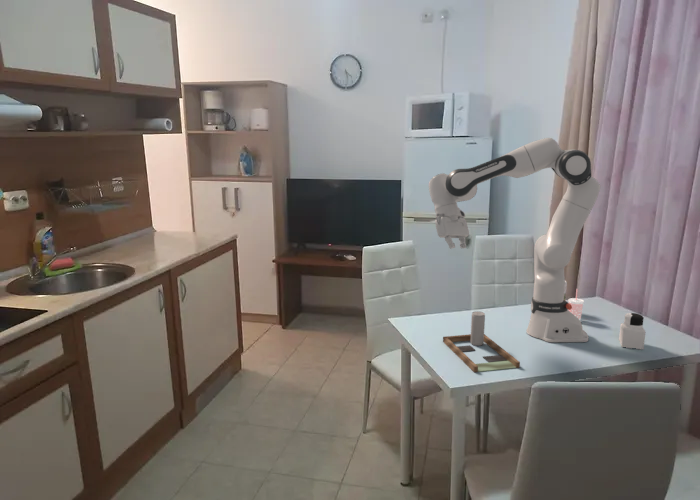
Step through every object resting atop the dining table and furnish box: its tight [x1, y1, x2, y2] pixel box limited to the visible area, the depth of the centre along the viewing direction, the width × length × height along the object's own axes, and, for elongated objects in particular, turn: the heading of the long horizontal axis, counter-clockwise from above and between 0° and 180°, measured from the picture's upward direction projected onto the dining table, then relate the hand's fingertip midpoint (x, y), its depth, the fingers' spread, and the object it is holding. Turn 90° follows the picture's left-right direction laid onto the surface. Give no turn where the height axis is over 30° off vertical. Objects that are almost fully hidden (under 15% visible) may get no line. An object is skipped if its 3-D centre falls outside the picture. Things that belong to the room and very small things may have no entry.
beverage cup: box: [567, 288, 585, 321], centre depth 215 cm, size 6×6×14 cm
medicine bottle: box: [618, 312, 646, 350], centre depth 189 cm, size 7×7×12 cm
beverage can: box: [470, 311, 486, 347], centre depth 191 cm, size 5×5×12 cm
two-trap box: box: [442, 333, 521, 373], centre depth 183 cm, size 27×16×2 cm, turn 12°
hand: (458, 248), depth 197 cm, fingers open, 8 cm apart
